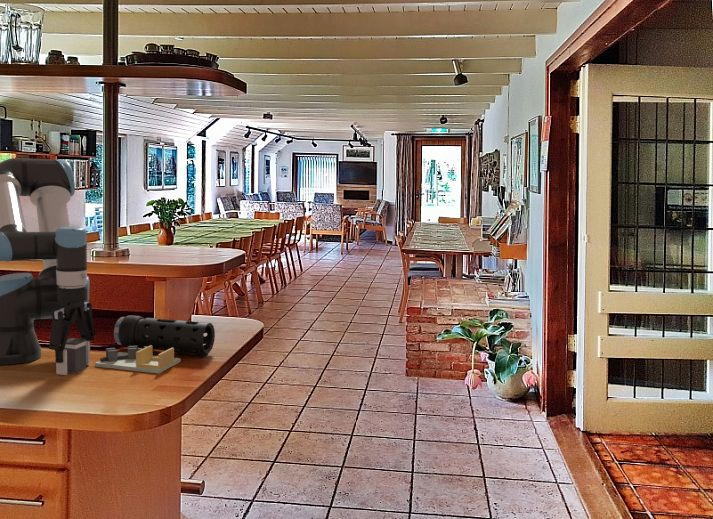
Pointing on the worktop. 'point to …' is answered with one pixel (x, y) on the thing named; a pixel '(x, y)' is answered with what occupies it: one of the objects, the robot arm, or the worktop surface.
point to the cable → (118, 358)
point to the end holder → (154, 358)
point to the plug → (76, 354)
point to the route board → (130, 361)
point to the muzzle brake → (165, 334)
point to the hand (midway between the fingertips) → (73, 369)
